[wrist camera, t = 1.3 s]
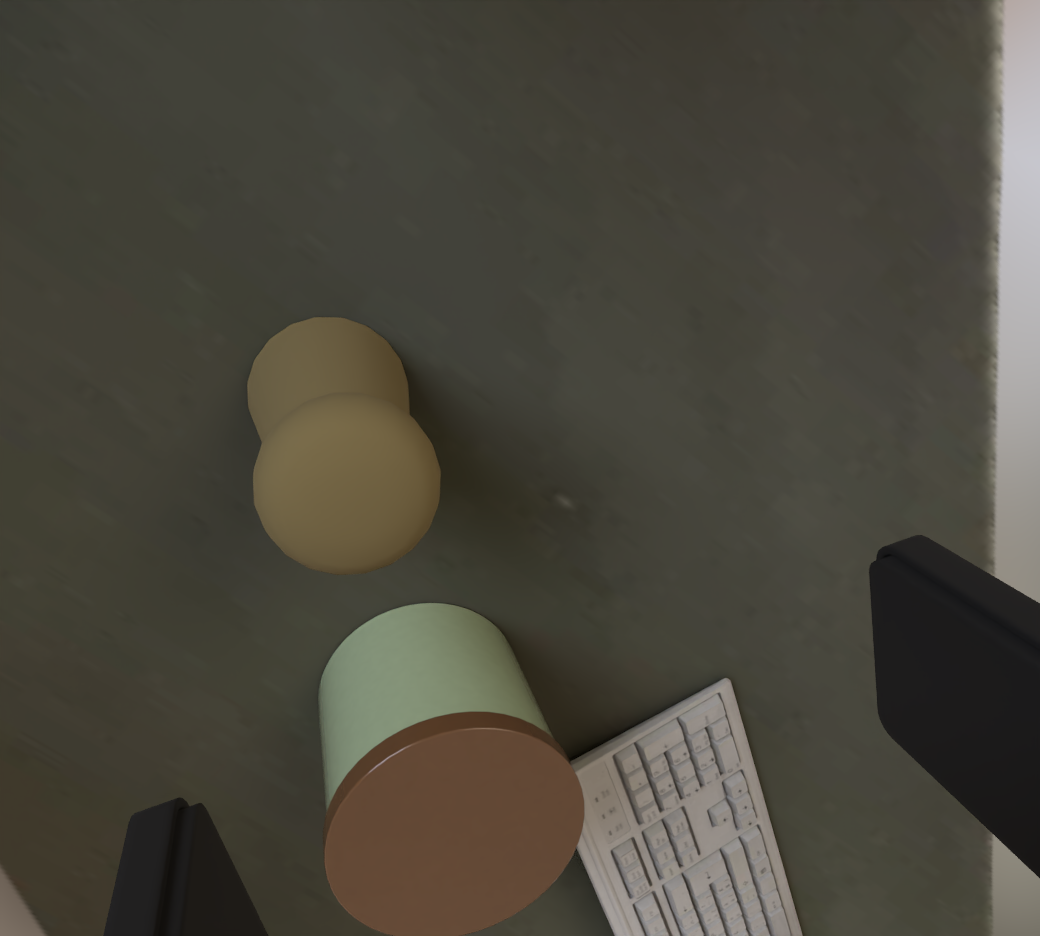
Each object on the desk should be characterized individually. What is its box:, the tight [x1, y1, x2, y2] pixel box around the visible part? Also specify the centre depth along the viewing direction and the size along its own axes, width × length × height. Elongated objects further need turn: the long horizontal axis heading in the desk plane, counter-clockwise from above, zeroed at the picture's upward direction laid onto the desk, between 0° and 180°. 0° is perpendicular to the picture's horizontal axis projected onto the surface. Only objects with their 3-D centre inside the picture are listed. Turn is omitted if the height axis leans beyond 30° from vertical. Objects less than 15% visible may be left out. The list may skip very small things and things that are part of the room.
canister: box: [318, 603, 585, 936], centre depth 34 cm, size 9×9×9 cm
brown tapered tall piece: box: [247, 317, 441, 575], centre depth 27 cm, size 6×6×11 cm
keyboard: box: [571, 678, 803, 936], centre depth 47 cm, size 29×10×2 cm, turn 19°
